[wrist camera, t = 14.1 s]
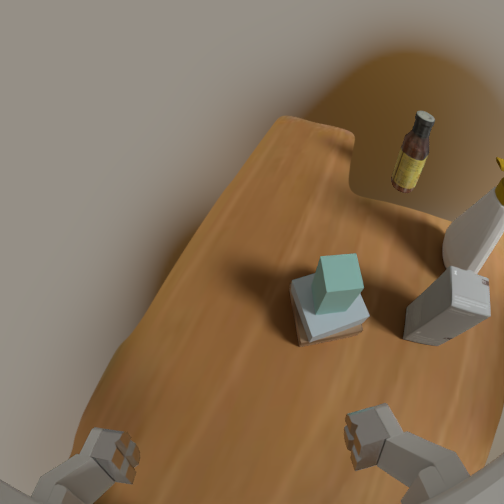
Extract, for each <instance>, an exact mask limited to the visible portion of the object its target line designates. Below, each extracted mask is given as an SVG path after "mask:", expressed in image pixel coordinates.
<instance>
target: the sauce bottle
mask: <svg viewBox="0 0 504 504" xmlns="http://www.w3.org/2000/svg"><path fill="white" fill-rule="evenodd" d="M415 119H416V120H415V123H414V126H413V129H412V130H411V131H410V132H409V133H408V134H406V135H405V138H404V141H403V145H402V146H401V149H400V152H399V155H398V158H397V162H396V165H395V168H394V171H393V174H392V177H391V181H392V185H393V186H394V188H396V189H397V190H398V191H400V192H403V193H409V192H411V191H412V190H413V188H414V187H415V186H416V183H417V181H418V179H419V176H420V174H421V172H422V169H423V166H424V164H425V162H426V159H427V157H428V154H429V135H430V131H431V128H432V126H433V125H434V121H435V120H434V117H433V116H432V115H430V114H428V113H427V112H424V111H418V112H417V113H416V116H415Z"/></svg>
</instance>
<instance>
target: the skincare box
mask: <svg viewBox="0 0 504 504" xmlns="http://www.w3.org/2000/svg"><path fill="white" fill-rule="evenodd" d="M488 317H490V293H489V280H488V278H486V277H483V276H480V275H477V274H475V273H474V272H473V271H471V270H467V271H466V270H463V269H460V268H457V267H454V266H449V267H448V268H447V270H446V271H445V272H444V273H443V274H442V275H441V276H440V277H439V278H438V279H437V280H436V281H434V282H433V283H432V284H431V285H430V286H429V287H428V288H427V289H426V290H425V291H424V292H423V293H422V294H421V295H420V296H419V297H417V298H416V299H415V300H414V301H413V302H412V303H411V304H410V305H408V306H407V310H406V320H405V328H404V336H403V339H405V340H409V341H413V342H417V343H422V344H427V345H434V346H439V345H441V344H443V343H444V342H446V341H448V340H450V339H452V338H454V337H456V336H458V335H459V334H461V333H463V332H465V331H466V330H468V329H470V328H472V327H473V326H475V325H477V324H478V323H480V322H482V321H483V320H485V319H487V318H488Z"/></svg>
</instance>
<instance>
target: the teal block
mask: <svg viewBox="0 0 504 504" xmlns="http://www.w3.org/2000/svg"><path fill="white" fill-rule="evenodd" d="M311 287H312V294H313V301H314V308H315V315H321V314H329V313H337V312H345V311H347V309H348V308H349V307H350V306H351V304H352V303H353V302H354V300H355V299H356V298H357V297H358V295H359V294H360V293H361V291H362V290H363V289H364V285H363V281H362V276H361V272H360V268H359V263H358V259H357V255H356V253H355V254H344V255H332V256H321V257H320V260H319V263H318V266H317V269H316V272H315V276H314V279H313V282H312V285H311Z"/></svg>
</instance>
